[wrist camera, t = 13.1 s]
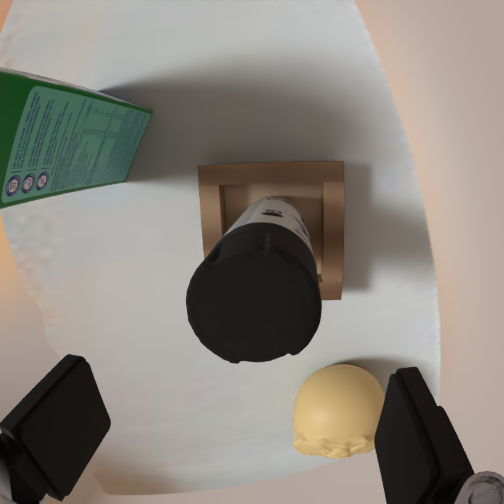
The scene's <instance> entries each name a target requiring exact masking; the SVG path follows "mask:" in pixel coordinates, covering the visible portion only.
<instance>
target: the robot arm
mask: <svg viewBox="0 0 504 504" xmlns="http://www.w3.org/2000/svg"><path fill="white" fill-rule="evenodd" d="M110 425H111V420H110V417H109V415H108V413H107V410H106V408H105V405H104V403H103V400H102V398H101V395H100V392H99V390H98V387H97V384H96V381H95V379H94V376H93V373H92V370H91V367H90V365H89V363H88V362H87V361H86V359H85V358H84V357H82V356H76V355H71V354H68V355H66V356H65V357H64V358H63V359H62V360H61V361H60V362H59V363H58V364H57V365H56V366H55V367H54V368H53V369H52V370H51V371H50V372H49V373H48V374H47V375H46V376H45V377H44V378H43V379H42V380H41V381H40V382H39V383H38V384H37V385H36V386H35V387H34V388H33V389H32V390H31V391H30V392H29V393H28V394H27V395H26V396H25V397H24V398H23V399H22V400H21V401H20V402H19V404H18V405H17V406H16V407H15V408H14V409H13V410H12V411H11V412H10V413H9V414H8V415H7V416H6V417H5V418H4V419H3V421H2V422H1V423H0V429H1V431H2V433H1V434H0V504H46V503H45V498H44V496H45V494H46V493H47V494H48V495H49V496H50V497H52V498H54V499H57V500H59V501H61V502H62V500H63V499H64V497H65V496H67V495H69V494H70V493H71V491H72V489H73V488H74V486H75V484H76V482H77V481H78V479H79V478H80V476H81V474H82V472H83V471H84V469H85V468H86V466H87V464H88V463H89V461H90V459H91V458H92V456H93V455H94V453H95V451H96V450H97V448H98V447H99V445H100V443H101V442H102V440H103V438H104V437H105V435H106V434H107V432H108V430H109V429H110ZM374 445H375V449H376V454H377V458H378V463H379V468H380V472H381V477H382V482H383V487H384V492H385V497H386V502H387V504H504V477H503V476H502V475H500V474H498V473H495V472H490V471H484V472H479V473H476V474H474V471H473V469H472V466H471V464H470V462H469V460H468V458H467V455H466V453H465V451H464V449H463V447H462V444H461V442H460V440H459V438H458V436H457V434H456V432H455V430H454V428H453V426H452V424H451V422H450V420H449V418H448V416H447V414H446V412H445V410H444V409H443V408H442V407H441V406H437V404H436V402H435V400H434V398H433V396H432V394H431V392H430V390H429V389H428V387H427V385H426V383H425V381H424V379H423V377H422V375H421V373H420V371H419V369H418V368H417V367H409V368H400V369H397V371H396V374H392V375H391V376H390V379H389V383H388V388H387V392H386V396H385V400H384V404H383V408H382V411H381V415H380V419H379V422H378V426H377V429H376V433H375V437H374Z"/></svg>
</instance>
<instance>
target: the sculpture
mask: <svg viewBox="0 0 504 504" xmlns="http://www.w3.org/2000/svg"><path fill="white" fill-rule="evenodd" d="M384 400H385V396H384V392H383V389H382V387H381V385H380V383H379V382H378V380H377V379H376V378H375V377H374V376H373V375H372V374H371V373H369V372H368V371H366V370H364V369H362V368H360V367H357V366H353V365H347V364H337V365H331V366H328V367H325V368H322V369H320V370H318V371H316V372H315V373H313V374H312V375H311V376H309V377H308V378H307V379H306V381H305V382H304V383H303V385H302V386H301V388H300V390H299V392H298V394H297V397H296V400H295V405H294V413H293V429H294V433H295V440H294V442H293V445H294V448H295V449H296V450H297V451H298V452H299V453H301V454H304V455H317V456H323V457H329V458H333V459H335V458H337V459H342V458H347V457H350V456H351V455H355V454H362V453H367V452H370V451H371V450H372V449H374V448H375V445H374V437H375V433H376V429H377V426H378V422H379V419H380V415H381V411H382V408H383V404H384Z"/></svg>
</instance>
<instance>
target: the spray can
mask: <svg viewBox="0 0 504 504" xmlns="http://www.w3.org/2000/svg"><path fill="white" fill-rule="evenodd" d="M186 306H187V314H188V321H189V323H190V325H191V327H192V329H193V331H194V333H195V335H196V336H197V337H198V338H199V340H200V342H201V343H202V344H203V345H204V346H205V347H206V348H208V349H209V350H210V351H211V352H213V353H214V354H216V355H218V356H219V357H221V358H222V359H224V360H226V361H229V362H230V363H236V364H238V363H239V362H240V361H249V362H265V361H271V360H274V359H276V358H279V357H282V356H285V355H286V354H288V353H289V354H291V355H296V354H299V353H300V352H301V351H302V350H303V349H304V348H305V347H306V346H307V345H308V344H309V343H310V341H311V339H312V338H313V336H314V334H315V333H316V331H317V329H318V326H319V323H320V319H321V310H322V301H321V294H320V288H319V281H318V275H317V265H316V262H315V259H314V255H313V250H312V247H311V243H310V238H309V234H308V230H307V226H306V222H305V219H304V216H303V214H302V212H301V210H300V209H299V208H298V207H297V206H296V205H295V204H294V203H293V202H292V201H290V200H288V199H286V198H284V197H279V196H268V197H264V198H261V199H259V200H257V201H255V202H254V203H253V204H252V205H250V207H249V208H248V209H247V210H246V211H245V212H244V213H243V214H242V215H241V216H240V218H239V219H238V220H237V221H236V222H235V223H234V224H233V226H232V227H231V228H230V229H229V230H228V231H227V232H226V233H225V235H224V236H223V237H222V238H221V239H220V240H219V241H218V243H217V244H216V245H215V246H214V248H213V249H212V250H211V252H210V253H209V254H208V256H207V257H206V258H205V260H204V261H203V262H202V263H201V264H200V265H199V267H198V268H197V269H196V271H195V273H194V275H193V276H192V278H191V280H190V284H189V286H188V289H187V295H186Z"/></svg>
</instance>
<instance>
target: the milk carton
mask: <svg viewBox="0 0 504 504" xmlns="http://www.w3.org/2000/svg"><path fill="white" fill-rule="evenodd" d="M152 112H153V111H151V110H149V109H146V108H144V107H141V106H138V105H135V104H133V103H130V102H127V101H124V100H122V99H119V98H116V97H113V96H110V95H107V94H104V93H101V92H98V91H95V90H92V89H88V88H85V87H81V86H78V85H74V84H70V83H67V82H63V81H59V80H55V79H51V78H47V77H43V76H39V75H35V74H30V73H26V72H21V71H17V70H12V69H7V68H2V67H0V209H2V208H6V207H9V206H13V205H17V204H21V203H26V202H30V201H34V200H38V199H43V198H47V197H51V196H56V195H61V194H65V193H70V192H75V191H80V190H85V189H90V188H96V187H101V186H107V185H112V184H118V183H124V181H125V179H126V176H127V173H128V171H129V168H130V165H131V163H132V160H133V158H134V155H135V152H136V150H137V147H138V145H139V143H140V140H141V138H142V135H143V133H144V131H145V128H146V126H147V124H148V121H149V119H150V117H151V114H152Z"/></svg>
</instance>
